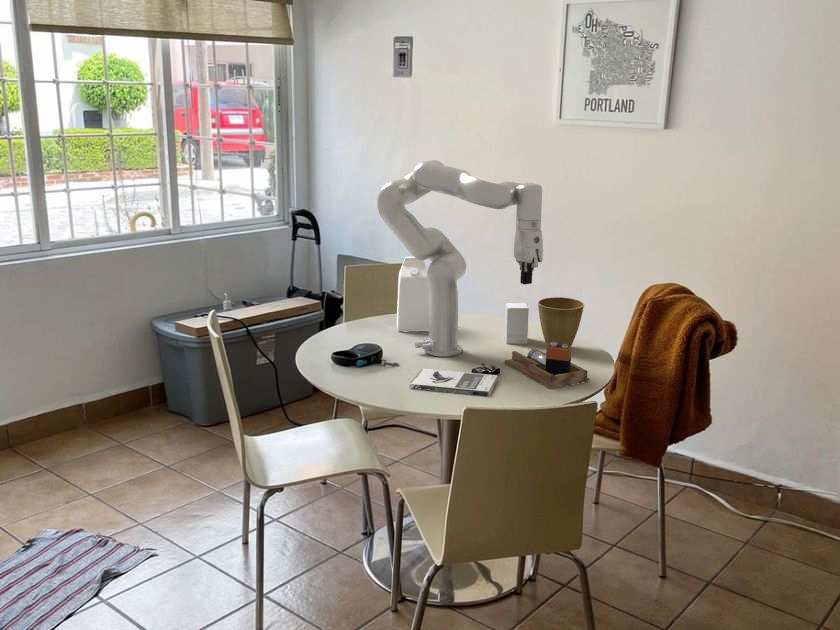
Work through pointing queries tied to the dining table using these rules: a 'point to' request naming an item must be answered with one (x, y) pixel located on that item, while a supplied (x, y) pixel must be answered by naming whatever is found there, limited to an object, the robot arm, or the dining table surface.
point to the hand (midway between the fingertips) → (526, 283)
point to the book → (454, 382)
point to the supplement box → (516, 323)
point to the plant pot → (560, 319)
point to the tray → (542, 376)
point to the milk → (413, 296)
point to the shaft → (537, 358)
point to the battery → (558, 358)
